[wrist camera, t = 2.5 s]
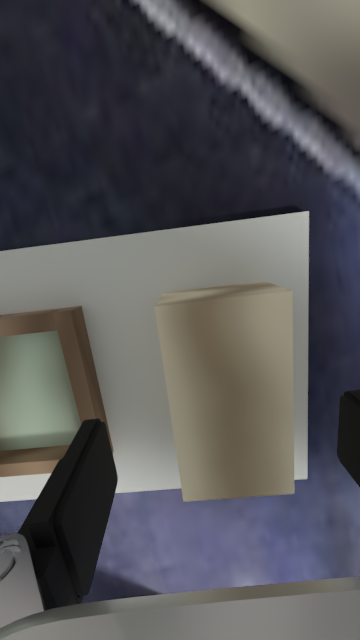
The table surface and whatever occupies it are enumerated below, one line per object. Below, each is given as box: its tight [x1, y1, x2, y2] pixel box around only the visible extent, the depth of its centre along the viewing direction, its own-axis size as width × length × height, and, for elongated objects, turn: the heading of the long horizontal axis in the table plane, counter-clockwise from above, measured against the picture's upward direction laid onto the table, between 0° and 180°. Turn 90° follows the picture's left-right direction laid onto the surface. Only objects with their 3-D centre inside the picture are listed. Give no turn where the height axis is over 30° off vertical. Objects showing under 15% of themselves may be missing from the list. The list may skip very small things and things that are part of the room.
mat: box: [0, 211, 309, 502], centre depth 17 cm, size 29×18×1 cm, turn 97°
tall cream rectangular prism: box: [155, 281, 294, 502], centre depth 14 cm, size 6×11×4 cm, turn 7°
